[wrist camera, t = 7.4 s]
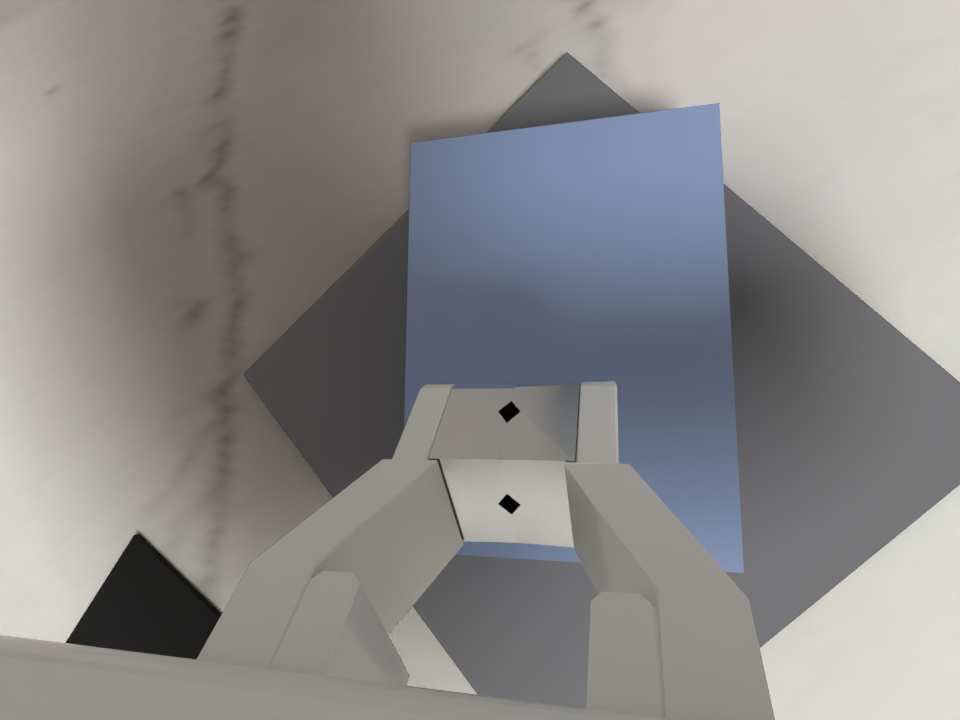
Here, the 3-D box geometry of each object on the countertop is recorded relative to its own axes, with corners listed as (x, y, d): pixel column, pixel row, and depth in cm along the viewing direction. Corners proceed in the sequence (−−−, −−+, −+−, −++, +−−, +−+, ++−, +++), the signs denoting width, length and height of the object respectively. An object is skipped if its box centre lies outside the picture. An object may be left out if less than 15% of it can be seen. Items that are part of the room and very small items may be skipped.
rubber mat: (250, 375, 19) (243, 374, 19) (568, 60, 18) (567, 52, 17) (563, 799, 15) (561, 809, 15) (1010, 434, 14) (1021, 434, 13)
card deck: (744, 573, 12) (719, 103, 13) (401, 551, 14) (411, 142, 15) (721, 548, 15) (703, 155, 16) (435, 532, 16) (440, 184, 18)
